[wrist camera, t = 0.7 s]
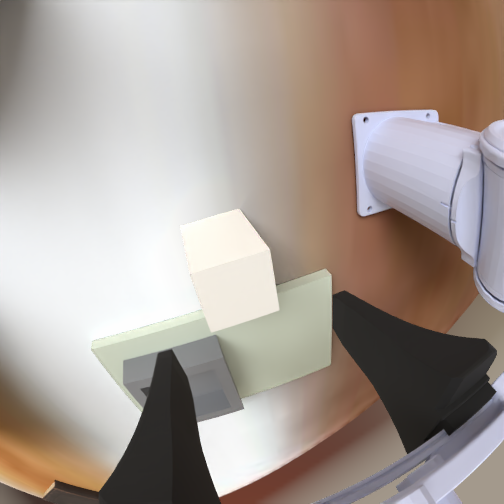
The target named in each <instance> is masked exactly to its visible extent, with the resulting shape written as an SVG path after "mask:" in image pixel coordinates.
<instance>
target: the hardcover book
mask: <svg viewBox="0 0 504 504" xmlns="http://www.w3.org/2000/svg"><path fill="white" fill-rule="evenodd" d="M43 500H46V501H49V502H52V503H56V504H99V492H96V491H92V490H88V489H84V488H80V487H76V486H73V485H69V484H66V483H63V482H60V481H56V480H55V482H54V483H53V484H52V485H51V486H50V487H49V488H48V490H47V491H46V492H45V493H44V497H43Z"/></svg>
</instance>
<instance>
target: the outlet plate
mask: <svg viewBox="0 0 504 504" xmlns="http://www.w3.org/2000/svg"><path fill="white" fill-rule="evenodd" d="M276 290H277V297H278V303H279V311H276V312H273V313H270V314H267V315H264V316H261V317H258V318H255V319H252V320H249V321H246V322H243V323H240V324H237V325H234V326H231V327H228V328H225V329H222V330H218V331H215V332H212V333H211V331H210V329H209V326H208V323H207V321H206V318H205V315H204V313H203V310H199V311H196V312H192V313H189V314H186V315H182V316H179V317H176V318H172V319H169V320H166V321H162V322H159V323H155V324H152V325H148V326H145V327H141V328H138V329H134V330H131V331H127V332H123V333H120V334H116V335H113V336H109V337H105V338H101V339H98V340H94V341H92V346H91V350H92V352H93V353H94V354H95V356H96V357H97V358H98V360H99V361H100V362H101V364H102V365H103V366H104V368H105V369H106V370H107V372H108V373H109V374H110V375H111V377H112V378H113V379H114V380H115V382H116V383H117V384H118V385H119V387H120V388H121V389H122V390H123V391H124V393H125V394H126V395H127V396H128V397H129V399H130V400H131V401H132V402H133V403H134V404H135V405H136V407H137V408H138V409H139V410H140V411H141V412H142V411H143V408H144V405H145V402H146V399H147V396H148V392H149V388H150V384H151V381H152V377H153V372H154V368H155V363H156V358H157V354H158V353H159V352H163V351H166V350H170V349H172V350H173V352H174V354H175V355H176V357H177V359H178V361H179V363H180V365H181V366H182V368H183V370H184V372H185V373H186V375H187V377H188V380H189V384H190V388H191V391H192V395H193V400H194V406H195V413H196V419H197V422H200V421H204V420H208V419H212V418H215V417H219V416H222V415H226V414H229V413H232V412H236V411H239V410H242V409H244V407H243V404H242V401H241V399H242V398H245V397H248V396H251V395H254V394H257V393H260V392H263V391H266V390H268V389H271V388H274V387H277V386H279V385H282V384H285V383H287V382H290V381H293V380H295V379H298V378H300V377H303V376H305V375H308V374H310V373H313V372H315V371H318V370H320V369H322V368H325V367H327V366H329V365H331V341H332V279H331V274H330V273H329V272H328V271H327V270H326V269H323V270H320V271H317V272H314V273H312V274H309V275H306V276H303V277H300V278H297V279H294V280H291V281H288V282H285V283H283V284H280V285H277V286H276Z"/></svg>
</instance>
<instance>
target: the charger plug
mask: <svg viewBox="0 0 504 504" xmlns="http://www.w3.org/2000/svg"><path fill="white" fill-rule="evenodd" d="M180 229H181V234H182V239H183V244H184V249H185V254H186V259H187V264H188V268H189V273H190V276H191V279H192V282H193V285H194V288H195V291H196V293H197V296H198V299H199V302H200V305H201V307H202V310H203V313H204V315H205V318H206V321H207V323H208V326H209V329H210V331H211V333H212V332H215V331H218V330H222V329H225V328H228V327H231V326H234V325H237V324H240V323H243V322H246V321H249V320H252V319H255V318H258V317H261V316H264V315H267V314H270V313H273V312H276V311H279V303H278V297H277V290H276V284H275V278H274V272H273V265H272V259H271V253H270V249H269V248H268V246H267V245H266V244H265V242H264V241H263V240H262V238H261V237H260V236H259V234H258V233H257V232H256V230H255V229H254V228H253V226H252V225H251V224H250V223H249V221H248V220H247V219H246V217H245V216H244V215H243V213H242V212H241V211H240V209H236V210H233V211H229V212H225V213H222V214H219V215H215V216H212V217H208V218H205V219H201V220H198V221H195V222H191V223H188V224H185V225H181V226H180Z"/></svg>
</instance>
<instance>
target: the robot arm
mask: <svg viewBox="0 0 504 504" xmlns="http://www.w3.org/2000/svg"><path fill="white" fill-rule="evenodd" d="M426 114H427V117H426ZM364 117H365V119H366V121H365V123H364V122H363V118H364ZM352 125H353V136H354V149H355V164H356V184H357V212H358V214H359V215H361V216H367V215H371V214H374V213H377V212H380V211H384V210H387V209H390V208H394V209H396V210H398V211H399V212H401V213H403V214H405V215H406V216H408V217H410V218H412V219H413V220H415V221H417V222H418V223H420V224H422V225H423V226H425V227H427V228H428V229H430V230H432V231H433V232H435V233H437V234H438V235H440V236H441V237H443V238H445V239H446V240H448V241H449V242H451V243H452V244H454V245H456V246H457V247H459V248H460V250H461V258H462V260H464V261H465V262H467V263H468V264H469V265H471V266H472V267H474V269H473V277H474V282H475V285H476V287H477V290H478V292H479V293H480V295H481V296H482V297H483V298H484V299H485V301H486V302H487V303H489V304H490V305H491V306H493V307H494V308H496V309H497V310H499V311H501V312H503V313H504V120H499V121H496V122H493V123H492V124H490V125H489V126H488V127H487V128H486V129H484V130H483V131H482V132H481V133H480V132H477V131H473V130H470V129H466V128H462V127H458V126H454V125H450V124H446V123H441V122H438V113H437V111H436V110H401V111H383V112H369V113H357V114H355V115H354V116H353V118H352ZM369 206H370V207H369ZM368 207H369V209H368ZM367 209H368V210H367ZM333 329H334V331H335V332H336V334H337V336H338V338H339V340H340V341H341V343H342V345H343V346H344V347H345V349H346V350H347V351H348V353H349V354H350V355H351V357H352V358H353V359H354V360H355V362H356V363H357V364H358V366H359V367H360V368H361V370H362V371H363V372H364V373H365V375H366V376H367V377H368V379H369V380H370V382H371V383H372V385H373V386H374V388H375V389H376V391H377V393H378V395H379V396H380V398H381V400H382V401H383V403H384V405H385V407H386V409H387V411H388V413H389V415H390V416H391V419H392V421H393V423H394V425H395V427H396V429H397V431H398V433H399V436H400V438H401V440H402V443H403V445H404V448H405V450H406V452H407V455H406V456H404V457H403V458H401V459H400V460H398V461H396V462H395V463H393V464H391V465H390V466H388V467H386V468H384V469H383V470H381V471H379V472H377V473H375V474H374V475H372V476H370V477H368V478H366V479H364V480H362V481H360V482H358V483H357V484H354V485H352V486H350V487H348V488H346V489H344V490H342V491H340V492H338V493H335V494H333V495H331V496H328V497H326V498H324V499H321V500H319V501H316V502H314V503H311V504H351V503H353V502H355V501H357V500H359V499H361V498H363V497H365V496H367V495H369V494H371V493H372V492H374V491H376V490H378V489H380V488H382V487H383V486H385V485H387V484H389V483H390V482H392V481H394V480H395V479H397V478H399V477H400V476H402V475H404V474H405V473H407V472H408V471H410V470H411V469H413V468H414V467H416V466H417V465H419V464H420V463H422V462H423V461H425V460H426V461H425V463H424V464H423V465H422V466H420V467H419V468H418V469H416V470H415V471H414V472H412V473H411V474H409V475H408V476H407V478H406V479H404V480H403V481H402V482H401V483H400V484H398V485H397V486H396V488H397V490H398V491H399V493H397V494H396V495H394V496H392V497H391V498H389V499H387V500H385V501H384V502H382V503H380V504H463V503H462V502H461V500H460V499H459V497H458V496H457V494H456V493H455V491H454V490H453V489H454V488H455V487H457V486H458V485H459V484H460V483H461V482H462V481H463V480H465V479H466V478H467V477H468V476H469V475H470V474H471V473H472V472H473V471H474V470H475V469H476V468H477V467H478V466H479V465H480V464H481V463H482V462H483V461H484V460H485V459H486V458H487V457H488V456H489V455H490V454H491V453H492V452H493V451H494V450H495V449H496V448H497V447H498V445H499V444H500V443H501V442H502V441H503V440H504V372H503V373H502V374H501V375H500V376H499V377H498V378H497V379H496V380H495V381H494V383H493V384H492V385H490V384H489V383H488V381H489V379H490V378H489V377H488V376H487V374H486V373H487V371H488V370H489V368H490V366H491V365H492V363H493V361H494V359H495V358H496V355H497V350H496V349H495V348H494V347H493V346H492V345H491V344H490V343H489V342H488V341H486V340H485V339H478V338H466V337H458V336H453V335H448V334H443V333H439V332H435V331H432V330H428V329H425V328H422V327H419V326H416V325H413V324H411V323H408V322H406V321H403V320H401V319H399V318H396V317H394V316H392V315H390V314H388V313H386V312H384V311H382V310H380V309H378V308H376V307H374V306H372V305H370V304H368V303H367V302H365V301H363V300H361V299H359V298H358V297H356V296H354V295H352V294H350V293H348V292H347V291H345V290H344V291H342V292H339V293H337V294H334V295H333ZM99 504H221V502H220V500H219V497H218V495H217V492H216V490H215V487H214V484H213V481H212V479H211V476H210V473H209V470H208V467H207V464H206V461H205V457H204V454H203V451H202V447H201V442H200V437H199V431H198V425H197V419H196V413H195V406H194V400H193V395H192V391H191V388H190V384H189V380H188V377H187V375H186V373H185V372H184V370H183V368H182V366H181V365H180V363H179V361H178V359H177V357H176V355H175V354H174V352H173V350H172V349H170V350H166V351H163V352H159V353H158V354H157V358H156V363H155V368H154V372H153V377H152V381H151V384H150V388H149V392H148V396H147V399H146V402H145V405H144V408H143V411H142V414H141V417H140V420H139V422H138V425H137V427H136V430H135V432H134V435H133V437H132V439H131V441H130V443H129V445H128V447H127V449H126V451H125V453H124V455H123V457H122V458H121V460H120V462H119V463H118V465H117V467H116V468H115V470H114V472H113V473H112V475H111V476H110V477H109V479H108V480H107V482H106V483H105V484H104V486H103V487H102V488H101V490H100V491H99Z"/></svg>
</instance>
